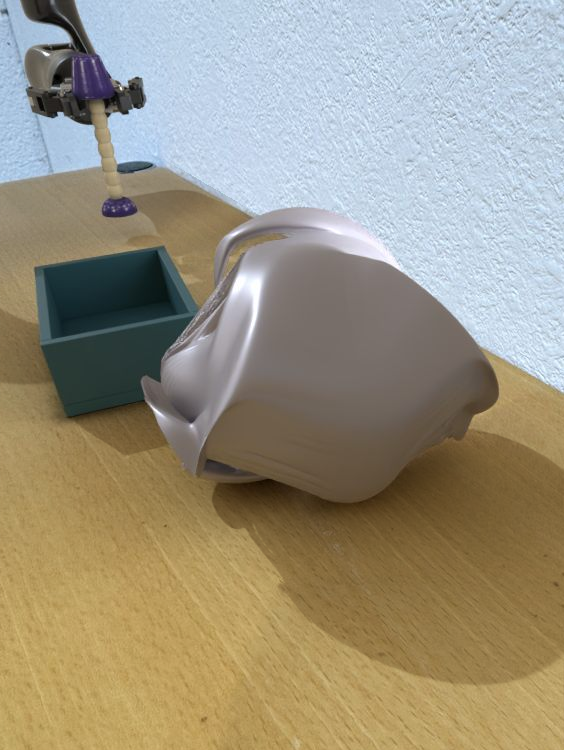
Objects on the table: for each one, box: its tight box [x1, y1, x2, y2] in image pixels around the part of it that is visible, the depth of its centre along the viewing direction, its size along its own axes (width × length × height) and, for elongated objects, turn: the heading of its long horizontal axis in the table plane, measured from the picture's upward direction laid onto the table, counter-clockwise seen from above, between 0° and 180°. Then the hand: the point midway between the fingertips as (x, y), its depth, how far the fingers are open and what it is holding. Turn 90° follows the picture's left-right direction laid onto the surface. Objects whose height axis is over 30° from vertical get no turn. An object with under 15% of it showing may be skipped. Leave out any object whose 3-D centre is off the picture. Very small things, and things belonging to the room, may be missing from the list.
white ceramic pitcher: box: [141, 206, 500, 504], centre depth 43 cm, size 20×18×15 cm
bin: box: [33, 245, 200, 418], centre depth 59 cm, size 18×12×6 cm, turn 23°
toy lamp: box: [71, 53, 139, 219], centre depth 81 cm, size 5×5×17 cm
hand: (100, 106), depth 77 cm, fingers closed on toy lamp, 4 cm apart
